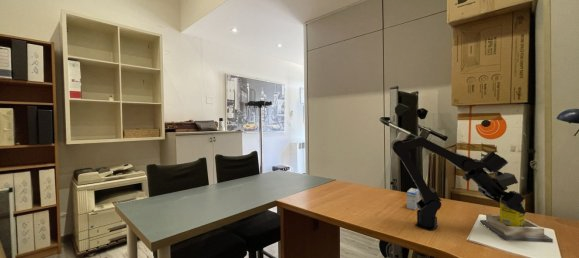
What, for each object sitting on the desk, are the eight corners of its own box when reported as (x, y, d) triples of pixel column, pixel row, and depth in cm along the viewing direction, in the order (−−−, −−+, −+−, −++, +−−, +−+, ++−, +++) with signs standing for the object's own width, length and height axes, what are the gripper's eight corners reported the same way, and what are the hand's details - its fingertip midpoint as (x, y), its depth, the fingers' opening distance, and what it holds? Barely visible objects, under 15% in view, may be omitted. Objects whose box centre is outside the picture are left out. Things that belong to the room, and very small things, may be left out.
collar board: (504, 240, 88) (504, 228, 88) (480, 222, 103) (479, 213, 103) (552, 242, 85) (552, 230, 85) (520, 224, 100) (520, 214, 100)
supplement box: (519, 230, 90) (519, 201, 90) (499, 224, 95) (499, 197, 95) (525, 226, 93) (525, 198, 92) (505, 221, 98) (506, 194, 98)
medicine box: (410, 204, 128) (410, 187, 128) (419, 205, 125) (419, 189, 125) (406, 208, 122) (406, 191, 122) (416, 210, 119) (416, 193, 119)
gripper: (518, 171, 85) (555, 203, 83) (486, 162, 103) (515, 188, 101) (493, 193, 87) (528, 224, 85) (465, 180, 105) (494, 205, 103)
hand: (516, 209), depth 94 cm, fingers closed on supplement box, 8 cm apart
